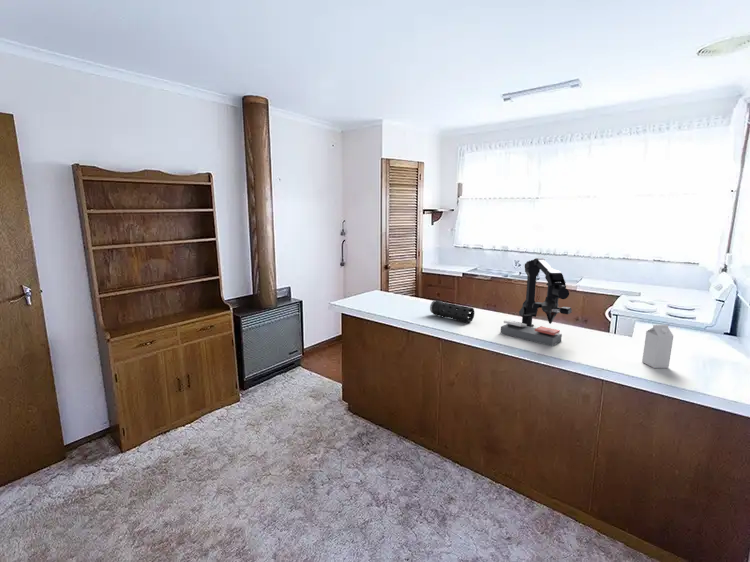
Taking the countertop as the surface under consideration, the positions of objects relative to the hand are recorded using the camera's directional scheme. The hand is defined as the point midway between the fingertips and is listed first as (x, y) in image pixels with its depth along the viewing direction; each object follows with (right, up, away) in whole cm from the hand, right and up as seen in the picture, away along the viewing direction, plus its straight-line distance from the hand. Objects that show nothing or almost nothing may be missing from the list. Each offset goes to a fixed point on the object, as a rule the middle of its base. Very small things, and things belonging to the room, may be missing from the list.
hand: (550, 323), depth 208 cm
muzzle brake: (-46, -2, +41) cm, 61 cm away
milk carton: (+33, -16, -32) cm, 49 cm away
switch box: (-9, -8, +6) cm, 13 cm away
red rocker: (-2, -4, -1) cm, 5 cm away
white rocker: (-15, -1, +11) cm, 19 cm away
